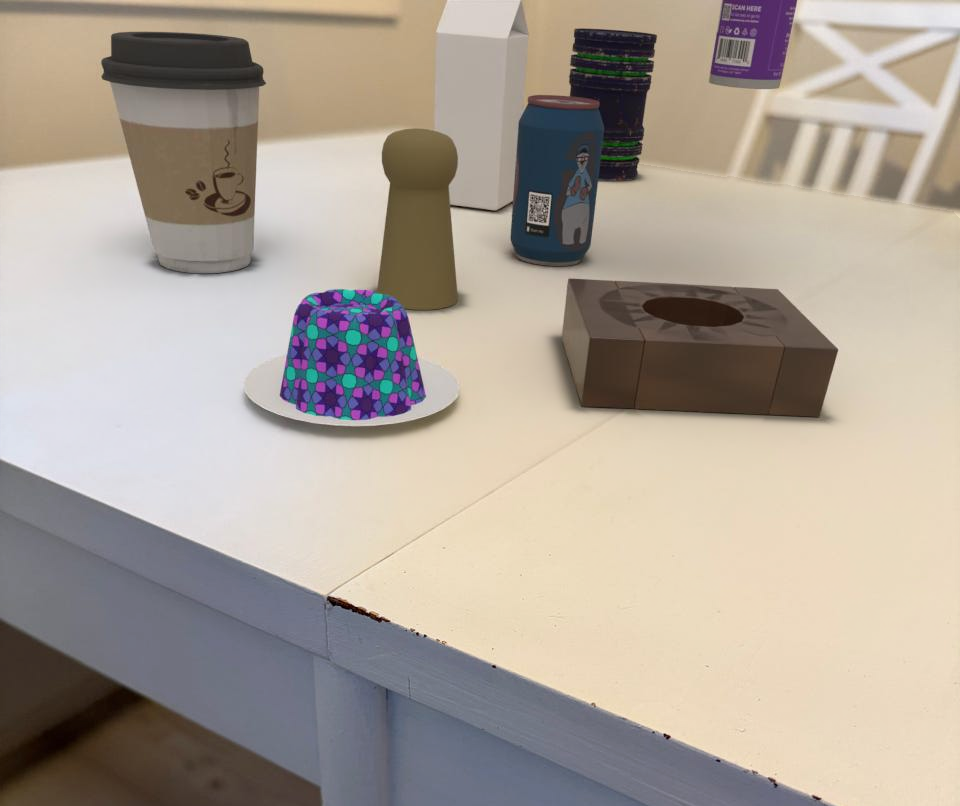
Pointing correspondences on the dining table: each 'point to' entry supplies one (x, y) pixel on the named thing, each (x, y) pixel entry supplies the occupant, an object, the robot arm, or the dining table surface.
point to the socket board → (694, 349)
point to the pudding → (351, 365)
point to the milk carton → (481, 96)
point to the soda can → (556, 179)
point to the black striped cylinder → (615, 92)
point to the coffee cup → (190, 142)
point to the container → (752, 43)
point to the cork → (419, 220)
